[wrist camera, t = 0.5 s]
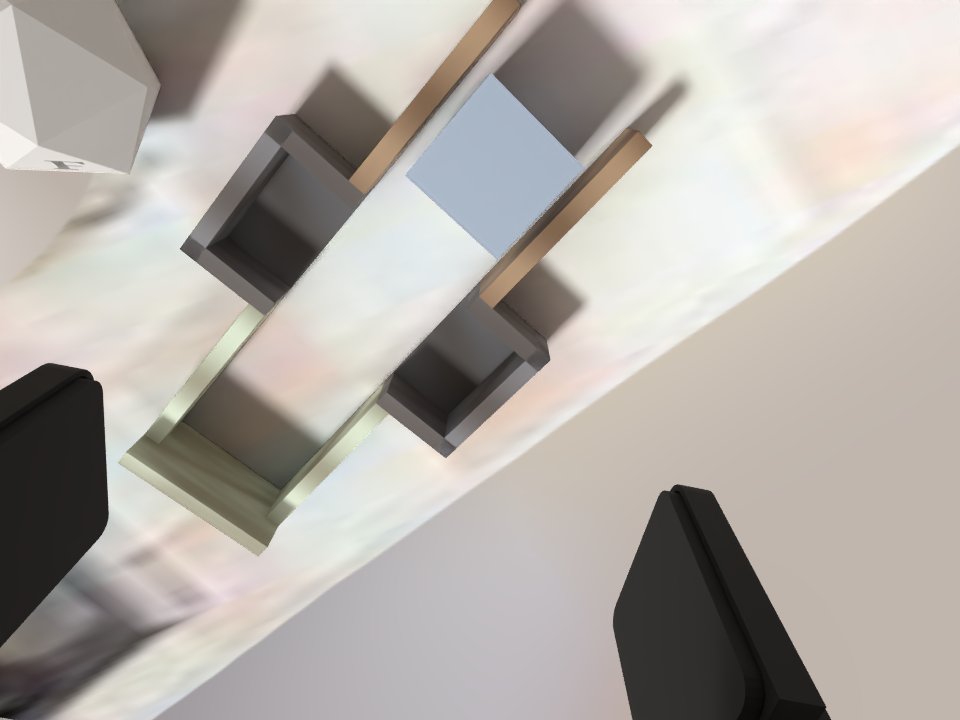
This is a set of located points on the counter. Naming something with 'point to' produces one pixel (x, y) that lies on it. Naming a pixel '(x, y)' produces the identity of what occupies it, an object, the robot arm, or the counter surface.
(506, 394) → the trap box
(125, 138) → the grey faceted solid
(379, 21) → the counter surface
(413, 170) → the block
